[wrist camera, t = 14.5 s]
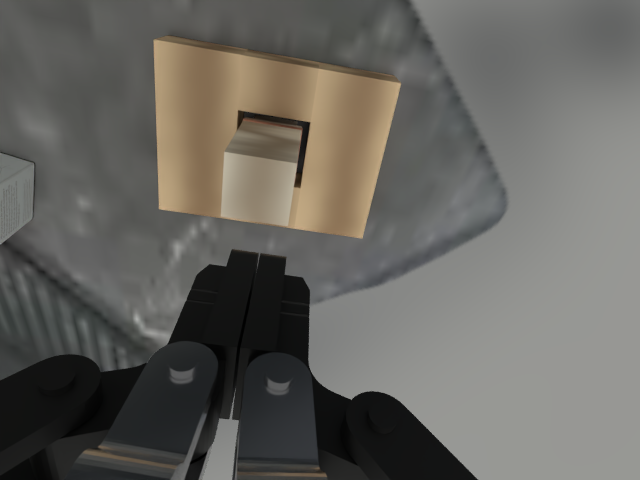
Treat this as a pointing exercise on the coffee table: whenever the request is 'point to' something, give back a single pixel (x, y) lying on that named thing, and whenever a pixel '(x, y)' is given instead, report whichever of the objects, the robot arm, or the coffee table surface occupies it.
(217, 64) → the oak board
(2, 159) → the small box
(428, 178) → the coffee table surface
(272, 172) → the ash peg
